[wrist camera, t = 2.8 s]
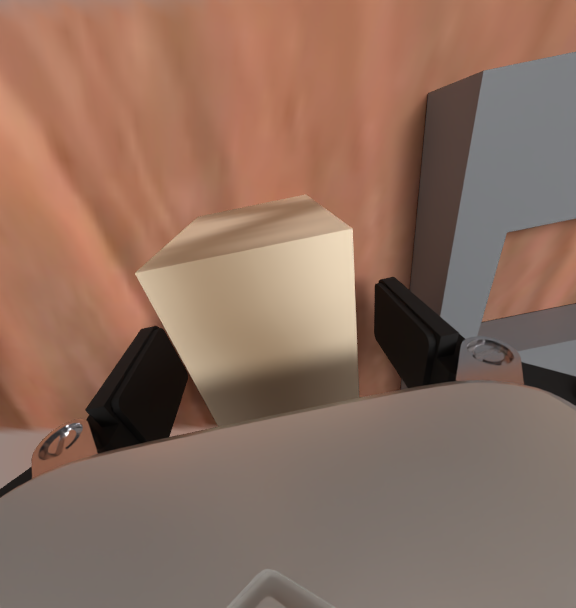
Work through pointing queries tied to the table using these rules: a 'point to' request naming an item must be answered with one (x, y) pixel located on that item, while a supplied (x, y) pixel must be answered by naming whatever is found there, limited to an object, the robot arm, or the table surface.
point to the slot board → (496, 197)
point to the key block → (261, 307)
